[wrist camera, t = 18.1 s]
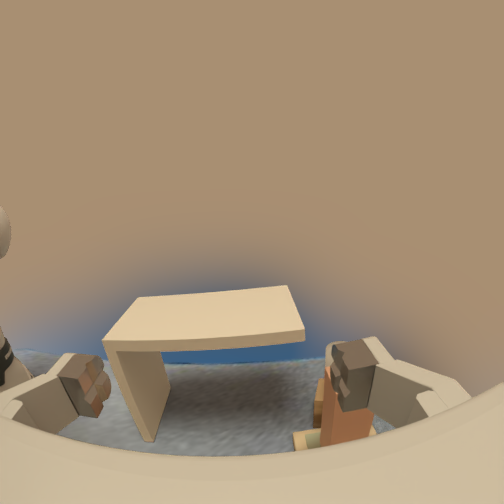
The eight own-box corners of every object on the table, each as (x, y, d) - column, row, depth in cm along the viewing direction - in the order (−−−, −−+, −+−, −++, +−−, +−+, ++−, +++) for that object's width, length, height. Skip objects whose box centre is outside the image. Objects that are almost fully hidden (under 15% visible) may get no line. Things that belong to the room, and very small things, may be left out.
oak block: (313, 428, 36) (314, 400, 34) (317, 406, 40) (319, 378, 39) (346, 429, 34) (351, 401, 33) (348, 407, 39) (352, 379, 37)
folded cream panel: (303, 437, 34) (304, 329, 30) (144, 441, 34) (101, 340, 30) (291, 380, 48) (287, 285, 44) (163, 387, 48) (138, 297, 43)
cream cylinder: (319, 395, 43) (320, 352, 41) (330, 381, 46) (333, 339, 44) (343, 402, 40) (347, 359, 38) (353, 387, 43) (358, 344, 41)
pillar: (361, 459, 26) (380, 384, 23) (326, 467, 26) (336, 394, 23) (352, 435, 31) (364, 359, 28) (319, 441, 31) (324, 367, 28)
